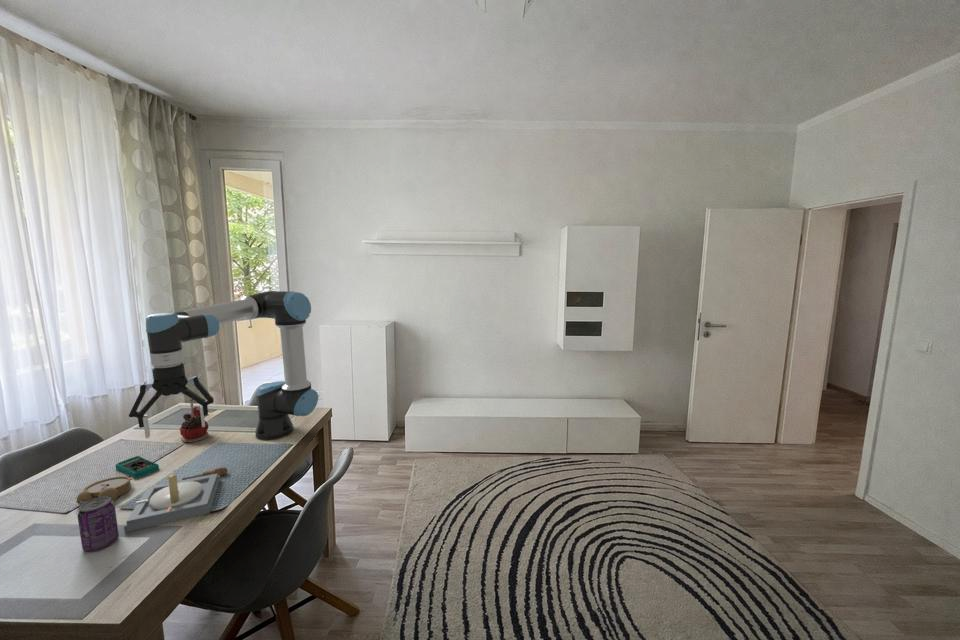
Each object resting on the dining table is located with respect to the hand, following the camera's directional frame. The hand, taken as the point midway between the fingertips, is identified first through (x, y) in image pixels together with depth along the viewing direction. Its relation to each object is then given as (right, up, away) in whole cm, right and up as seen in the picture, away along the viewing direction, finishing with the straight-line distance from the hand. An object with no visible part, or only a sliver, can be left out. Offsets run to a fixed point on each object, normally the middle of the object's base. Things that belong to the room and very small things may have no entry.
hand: (176, 430), depth 118 cm
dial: (-2, -22, +3) cm, 22 cm away
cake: (-30, -18, +48) cm, 60 cm away
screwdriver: (-4, -22, +18) cm, 29 cm away
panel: (-2, -24, +3) cm, 25 cm away
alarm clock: (-29, -24, +7) cm, 38 cm away
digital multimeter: (-33, -22, +23) cm, 46 cm away
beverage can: (-9, -27, -14) cm, 32 cm away
